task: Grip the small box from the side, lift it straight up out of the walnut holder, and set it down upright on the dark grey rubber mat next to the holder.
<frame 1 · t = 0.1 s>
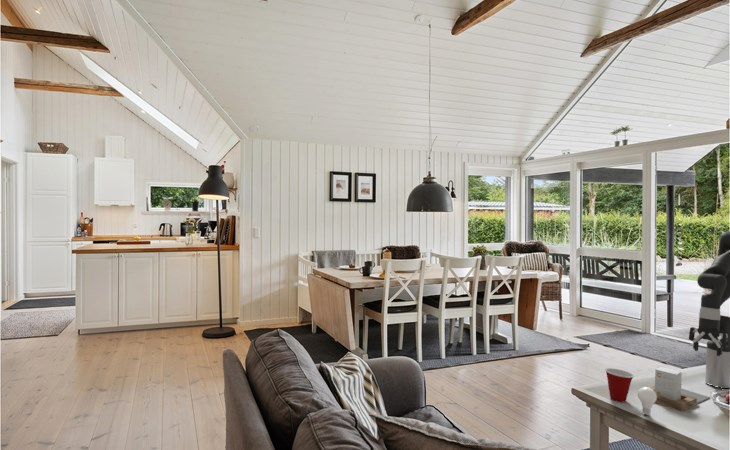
hand: (707, 353, 200), 17 cm above the table, tool pointing down, fingers open, 8 cm apart
lightbulb: (646, 415, 173), on the table
mat: (687, 395, 194), on the table
plastic cup: (618, 399, 188), on the table
small box: (667, 401, 188), resting in holder
holder: (667, 400, 188), on the table
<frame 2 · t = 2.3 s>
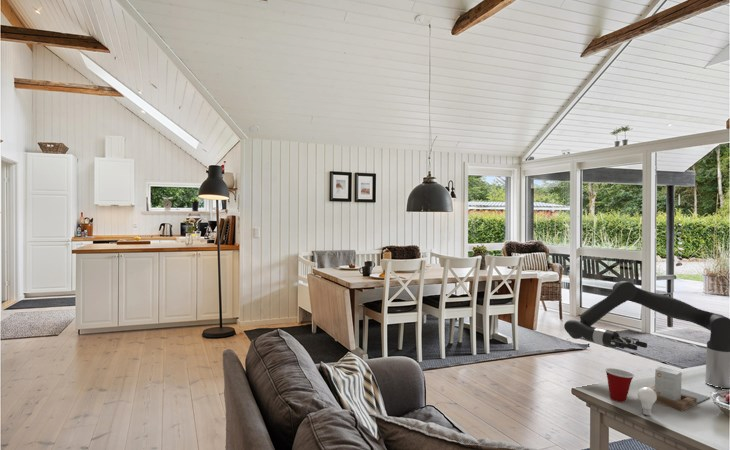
hand: (641, 346, 197), 20 cm above the table, tool horizontal, fingers open, 8 cm apart
nothing on the table moved.
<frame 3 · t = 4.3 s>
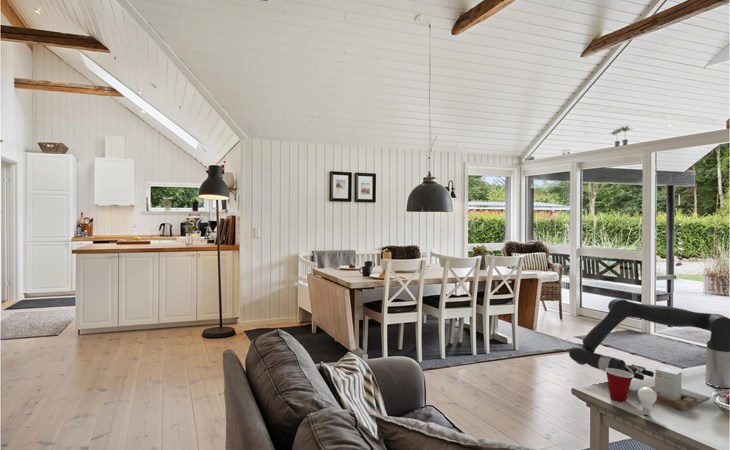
hand: (648, 376, 195), 8 cm above the table, tool horizontal, fingers open, 8 cm apart
nothing on the table moved.
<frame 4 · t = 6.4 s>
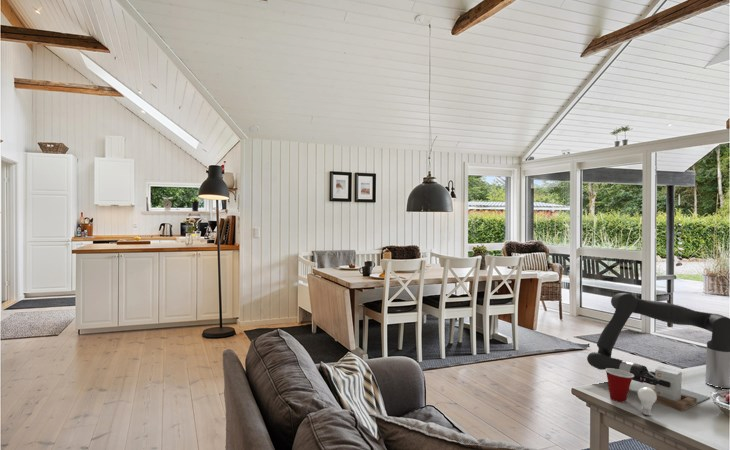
hand: (674, 383, 186), 8 cm above the table, tool horizontal, fingers closed on small box, 6 cm apart
small box: (667, 401, 188), resting in holder, touching gripper
everything else where it was.
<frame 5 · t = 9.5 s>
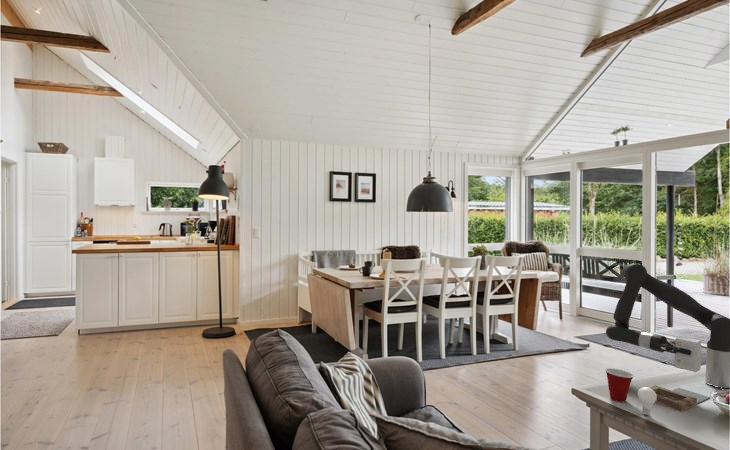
hand: (694, 351, 191), 21 cm above the table, tool horizontal, fingers closed on small box, 6 cm apart
small box: (687, 368, 193), point 12 cm above the table, touching gripper
everything else where it was.
when the fingers open (9 cm above the table, at t = 12.5 s): small box stays where it is, resting on mat.
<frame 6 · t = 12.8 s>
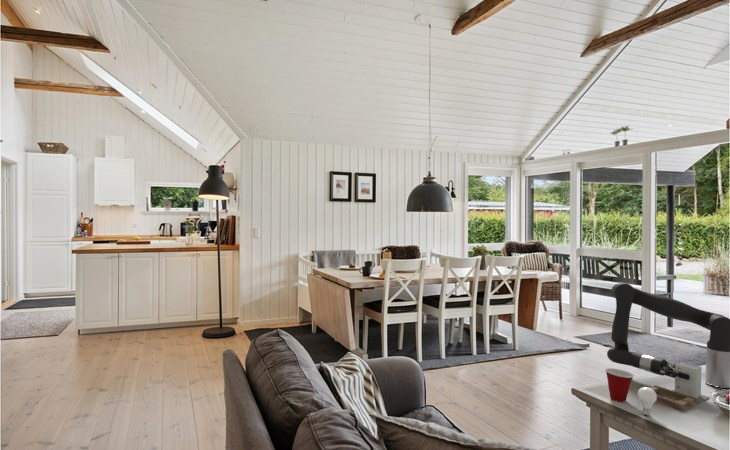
hand: (693, 375, 192), 9 cm above the table, tool horizontal, fingers open, 8 cm apart
small box: (687, 395, 194), resting on mat
everything else where it was.
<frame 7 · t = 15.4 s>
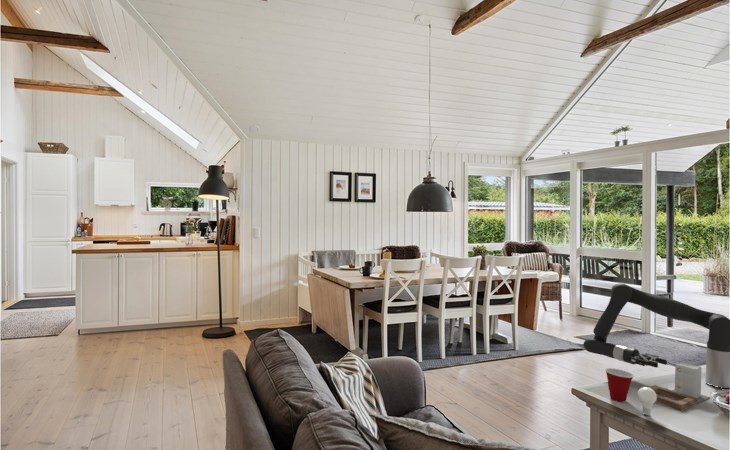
hand: (662, 363, 203), 11 cm above the table, tool horizontal, fingers open, 8 cm apart
nothing on the table moved.
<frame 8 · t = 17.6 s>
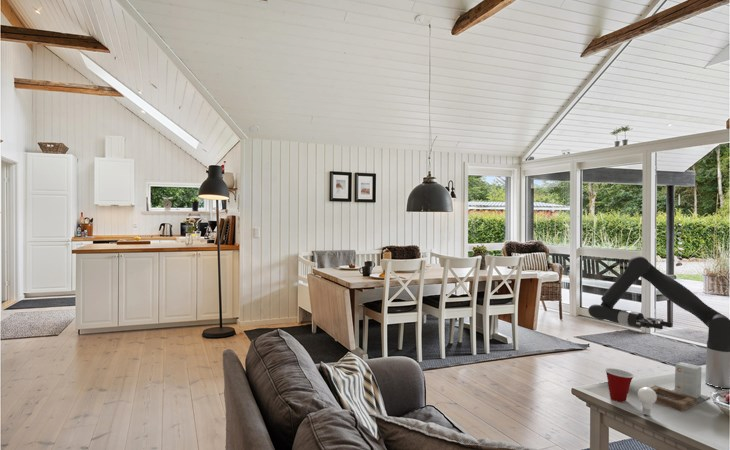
hand: (666, 326, 205), 28 cm above the table, tool horizontal, fingers open, 8 cm apart
nothing on the table moved.
at the end: small box inside the target area (0.1 cm from its centre), resting on mat; small box tilted 0°; the gripper is holding nothing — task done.
